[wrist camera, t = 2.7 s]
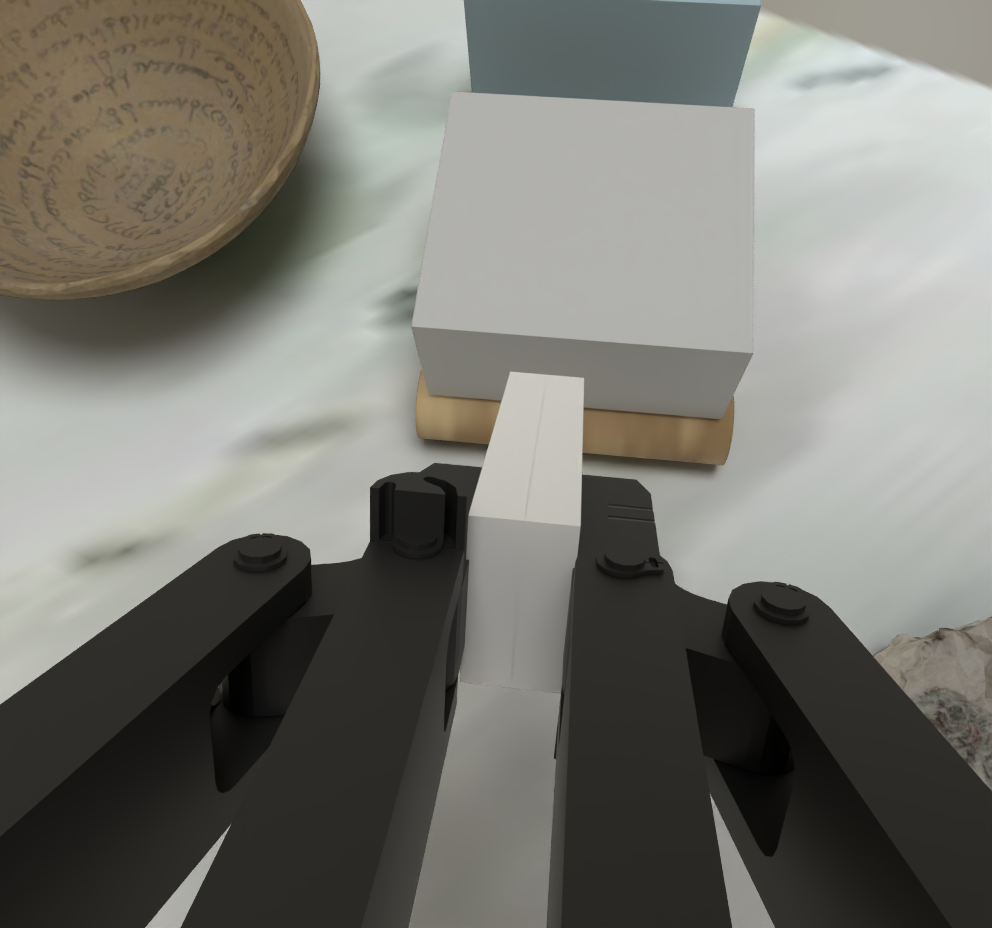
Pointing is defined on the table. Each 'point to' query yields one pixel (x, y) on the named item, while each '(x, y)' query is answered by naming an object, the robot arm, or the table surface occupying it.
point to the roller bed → (587, 429)
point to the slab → (591, 251)
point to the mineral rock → (950, 686)
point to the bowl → (143, 134)
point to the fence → (611, 49)
